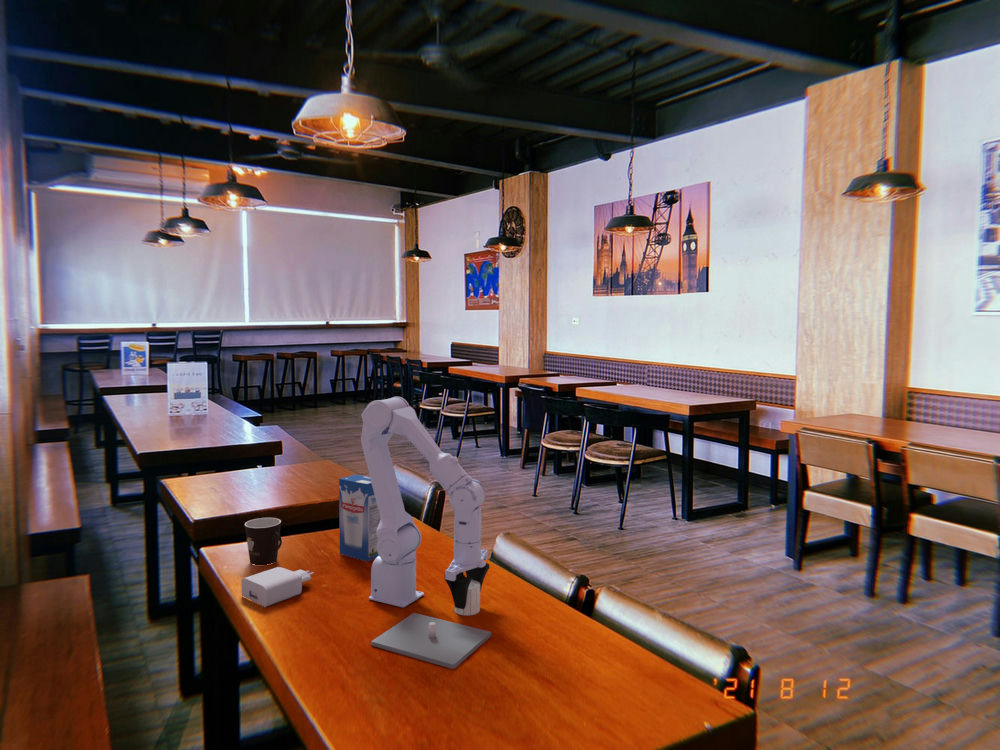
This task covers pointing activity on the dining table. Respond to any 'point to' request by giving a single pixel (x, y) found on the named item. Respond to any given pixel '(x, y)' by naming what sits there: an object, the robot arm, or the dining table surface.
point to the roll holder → (432, 640)
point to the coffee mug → (263, 540)
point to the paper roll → (471, 600)
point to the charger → (274, 585)
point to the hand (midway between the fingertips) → (467, 602)
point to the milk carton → (358, 518)
